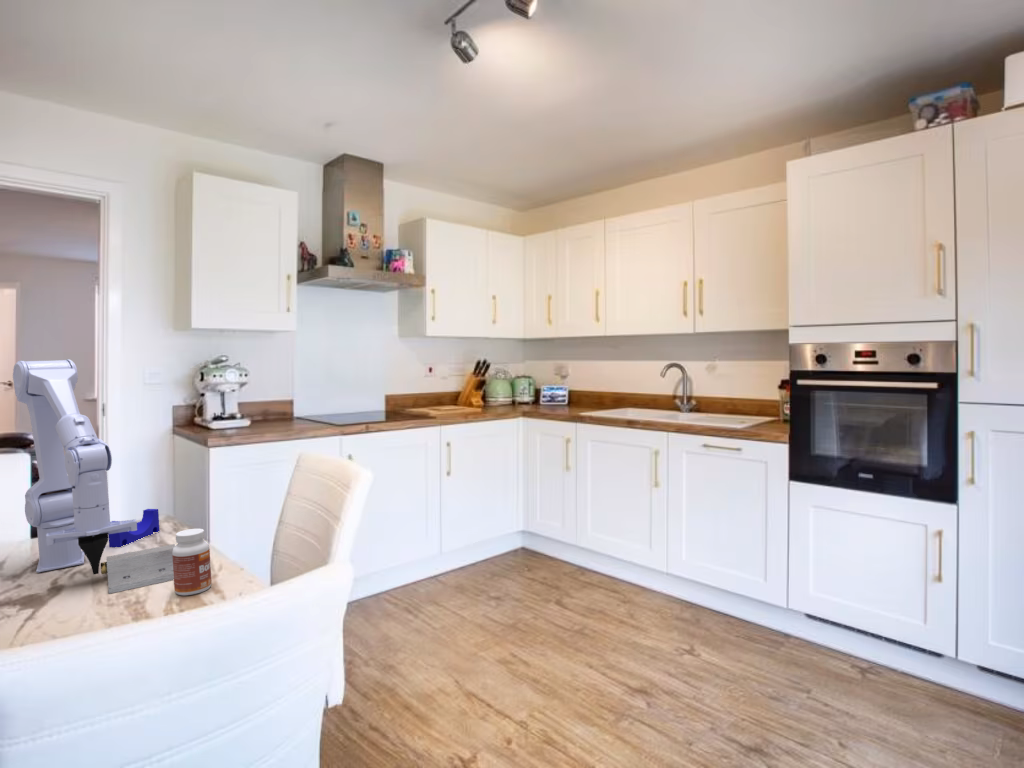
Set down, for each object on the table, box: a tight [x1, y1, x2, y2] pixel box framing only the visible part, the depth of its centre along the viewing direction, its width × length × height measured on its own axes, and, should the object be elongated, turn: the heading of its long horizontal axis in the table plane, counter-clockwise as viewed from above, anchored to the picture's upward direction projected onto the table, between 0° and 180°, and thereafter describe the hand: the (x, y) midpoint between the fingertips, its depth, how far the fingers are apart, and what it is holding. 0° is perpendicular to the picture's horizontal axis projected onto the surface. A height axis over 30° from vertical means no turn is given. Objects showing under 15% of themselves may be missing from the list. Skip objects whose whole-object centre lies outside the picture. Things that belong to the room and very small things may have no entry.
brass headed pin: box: [100, 561, 108, 575], centre depth 120 cm, size 13×2×2 cm, turn 125°
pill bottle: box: [172, 528, 212, 597], centre depth 110 cm, size 6×6×11 cm
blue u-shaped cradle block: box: [108, 508, 160, 548], centre depth 143 cm, size 12×4×6 cm, turn 170°
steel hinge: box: [105, 543, 176, 594], centre depth 121 cm, size 12×20×4 cm, turn 35°
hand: (96, 572), depth 116 cm, fingers closed
